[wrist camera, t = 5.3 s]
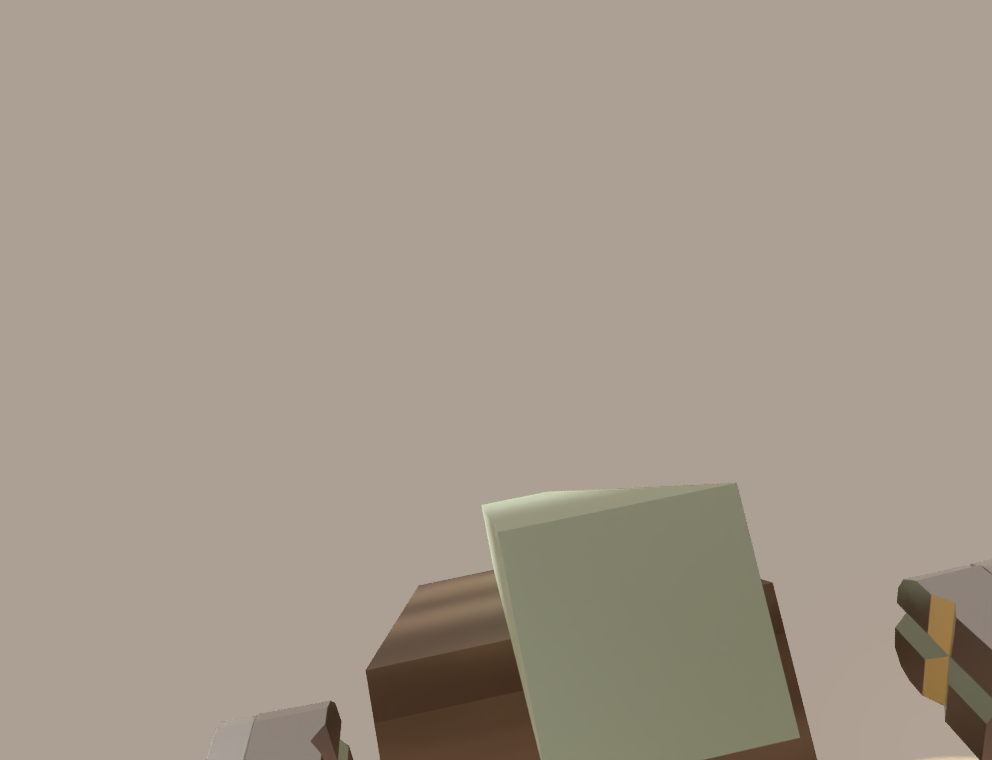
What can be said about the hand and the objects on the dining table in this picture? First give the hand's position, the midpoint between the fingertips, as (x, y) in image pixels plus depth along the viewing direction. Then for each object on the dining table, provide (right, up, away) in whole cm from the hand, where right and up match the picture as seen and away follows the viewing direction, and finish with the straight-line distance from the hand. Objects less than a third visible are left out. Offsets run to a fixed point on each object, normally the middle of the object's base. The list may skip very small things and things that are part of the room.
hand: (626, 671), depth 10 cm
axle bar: (0, -2, +10) cm, 10 cm away
